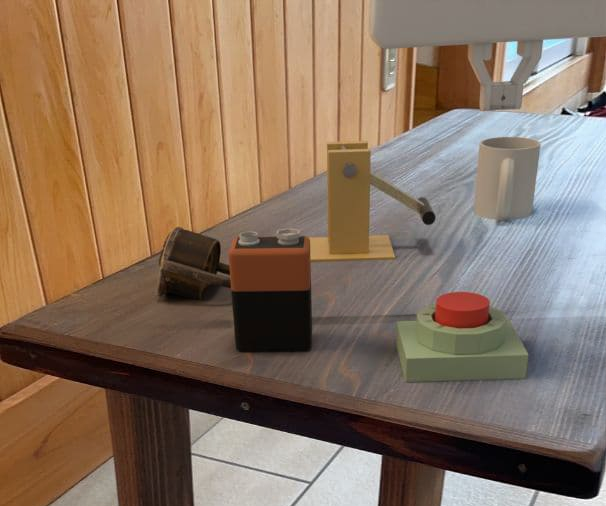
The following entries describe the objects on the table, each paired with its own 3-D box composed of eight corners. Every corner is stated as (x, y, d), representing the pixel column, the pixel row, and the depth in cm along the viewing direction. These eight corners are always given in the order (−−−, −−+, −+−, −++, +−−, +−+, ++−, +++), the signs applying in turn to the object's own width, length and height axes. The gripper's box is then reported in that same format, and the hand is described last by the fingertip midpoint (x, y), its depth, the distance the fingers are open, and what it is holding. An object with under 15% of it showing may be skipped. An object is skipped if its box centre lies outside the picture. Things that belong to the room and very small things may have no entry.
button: (482, 310, 74) (484, 290, 72) (492, 330, 70) (494, 309, 69) (431, 312, 74) (432, 292, 73) (438, 332, 70) (440, 311, 69)
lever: (421, 216, 98) (433, 197, 96) (428, 231, 93) (440, 211, 92) (330, 161, 94) (341, 141, 93) (332, 174, 89) (344, 153, 88)
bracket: (388, 245, 101) (391, 137, 94) (394, 267, 94) (399, 152, 87) (303, 248, 101) (300, 140, 94) (304, 270, 94) (301, 156, 87)
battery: (310, 352, 76) (308, 239, 70) (235, 353, 76) (226, 240, 71) (312, 333, 80) (310, 224, 74) (240, 334, 80) (232, 225, 74)
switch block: (505, 340, 77) (511, 297, 75) (525, 379, 71) (531, 333, 68) (395, 344, 77) (397, 301, 75) (405, 382, 71) (407, 337, 68)
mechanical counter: (192, 224, 91) (129, 227, 83) (295, 227, 85) (237, 230, 77) (195, 294, 93) (134, 303, 86) (295, 301, 87) (239, 312, 80)
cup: (530, 211, 110) (540, 137, 105) (531, 234, 102) (541, 155, 97) (474, 210, 112) (480, 136, 106) (470, 233, 104) (477, 154, 98)
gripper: (367, -109, 55) (368, 124, 63) (685, -128, 55) (644, 109, 63) (360, -107, 60) (362, 109, 68) (651, -124, 60) (617, 95, 68)
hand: (499, 109), depth 66 cm, fingers closed
